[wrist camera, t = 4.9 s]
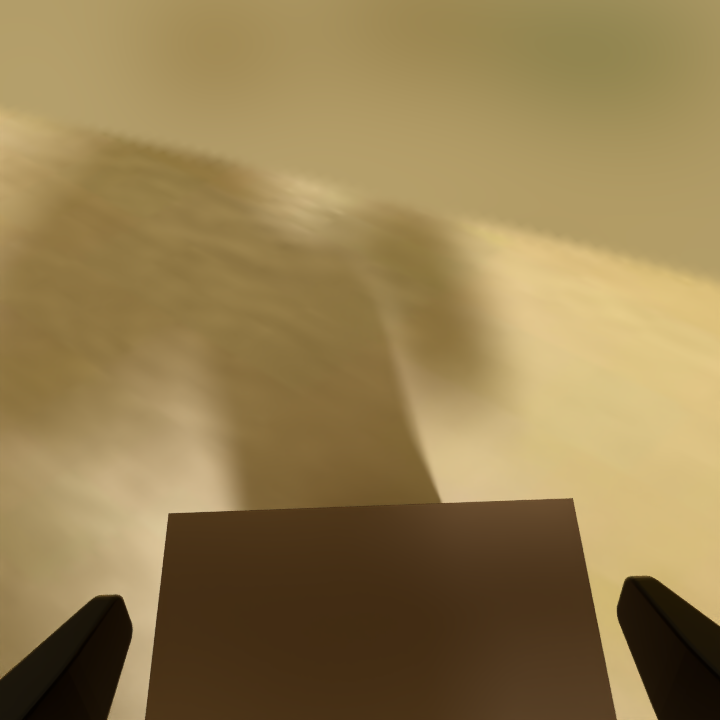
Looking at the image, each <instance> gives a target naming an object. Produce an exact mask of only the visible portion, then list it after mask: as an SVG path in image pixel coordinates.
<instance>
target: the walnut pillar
mask: <svg viewBox="0 0 720 720" xmlns="http://www.w3.org/2000/svg"><path fill="white" fill-rule="evenodd" d="M145 720H617V719H616V714H615V709H614V704H613V699H612V693H611V688H610V683H609V678H608V673H607V668H606V663H605V658H604V653H603V648H602V643H601V638H600V633H599V628H598V623H597V618H596V613H595V608H594V603H593V598H592V593H591V588H590V583H589V578H588V573H587V568H586V563H585V558H584V553H583V548H582V543H581V537H580V532H579V527H578V522H577V517H576V512H575V507H574V502H573V498H569V499H543V500H516V501H489V502H463V503H436V504H409V505H382V506H356V507H329V508H302V509H276V510H249V511H222V512H195V513H169V515H168V523H167V532H166V541H165V550H164V558H163V567H162V576H161V585H160V593H159V602H158V611H157V620H156V628H155V637H154V646H153V655H152V663H151V672H150V681H149V690H148V699H147V707H146V716H145Z"/></svg>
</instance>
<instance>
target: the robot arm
mask: <svg viewBox="0 0 720 720" xmlns="http://www.w3.org/2000/svg"><path fill="white" fill-rule="evenodd" d="M617 617H618V621H619V624H620V626H621V629H622V631H623V634H624V636H625V639H626V641H627V644H628V646H629V649H630V651H631V654H632V656H633V659H634V662H635V664H636V667H637V669H638V672H639V674H640V677H641V679H642V682H643V684H644V687H645V689H646V692H647V694H648V697H649V699H650V702H651V704H652V707H653V709H654V712H655V714H656V716H657V719H658V720H720V626H719V625H717V624H716V623H715V622H713V621H712V620H711V619H709V618H708V617H707V616H705V615H704V614H703V613H701V612H700V611H699V610H697V609H696V608H695V607H693V606H692V605H690V604H689V603H688V602H686V601H685V600H684V599H682V598H681V597H680V596H678V595H677V594H676V593H674V592H673V591H672V590H670V589H669V588H667V587H666V586H665V585H663V584H662V583H661V582H659V581H658V580H657V579H655V578H653V577H650V576H630V577H627V578H626V579H625V581H624V584H623V587H622V591H621V594H620V598H619V601H618V605H617ZM132 632H133V628H132V622H131V619H130V617H129V614H128V611H127V608H126V605H125V603H124V600H123V598H122V597H121V596H120V595H99V596H96V597H95V598H93V599H92V600H90V601H89V602H88V603H87V604H86V605H85V606H83V607H82V608H81V609H80V610H79V611H78V612H77V613H75V614H74V615H73V616H72V617H71V618H70V619H69V620H67V621H66V622H65V623H64V624H63V625H62V626H61V627H59V628H58V629H57V630H56V631H55V632H54V633H53V634H51V635H50V636H49V637H48V638H47V639H46V640H45V641H43V642H42V643H41V644H40V645H39V646H38V647H37V648H36V649H34V650H33V651H32V652H31V653H30V654H29V655H28V656H26V657H25V658H24V659H23V660H22V661H21V662H20V663H18V664H17V665H16V666H15V667H14V668H13V669H12V670H10V671H9V672H8V673H7V674H6V675H5V676H4V677H2V678H1V679H0V720H107V718H108V715H109V712H110V708H111V705H112V702H113V698H114V695H115V692H116V689H117V685H118V682H119V679H120V675H121V672H122V669H123V665H124V662H125V659H126V655H127V652H128V649H129V645H130V642H131V638H132Z"/></svg>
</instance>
